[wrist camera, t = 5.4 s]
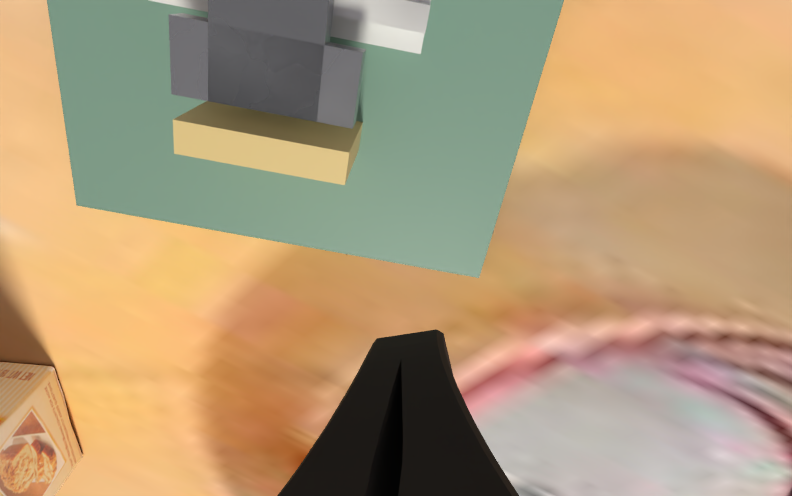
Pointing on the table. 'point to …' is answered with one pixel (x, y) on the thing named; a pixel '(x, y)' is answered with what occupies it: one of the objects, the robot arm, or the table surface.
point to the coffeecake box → (34, 432)
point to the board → (312, 129)
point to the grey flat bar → (267, 59)
